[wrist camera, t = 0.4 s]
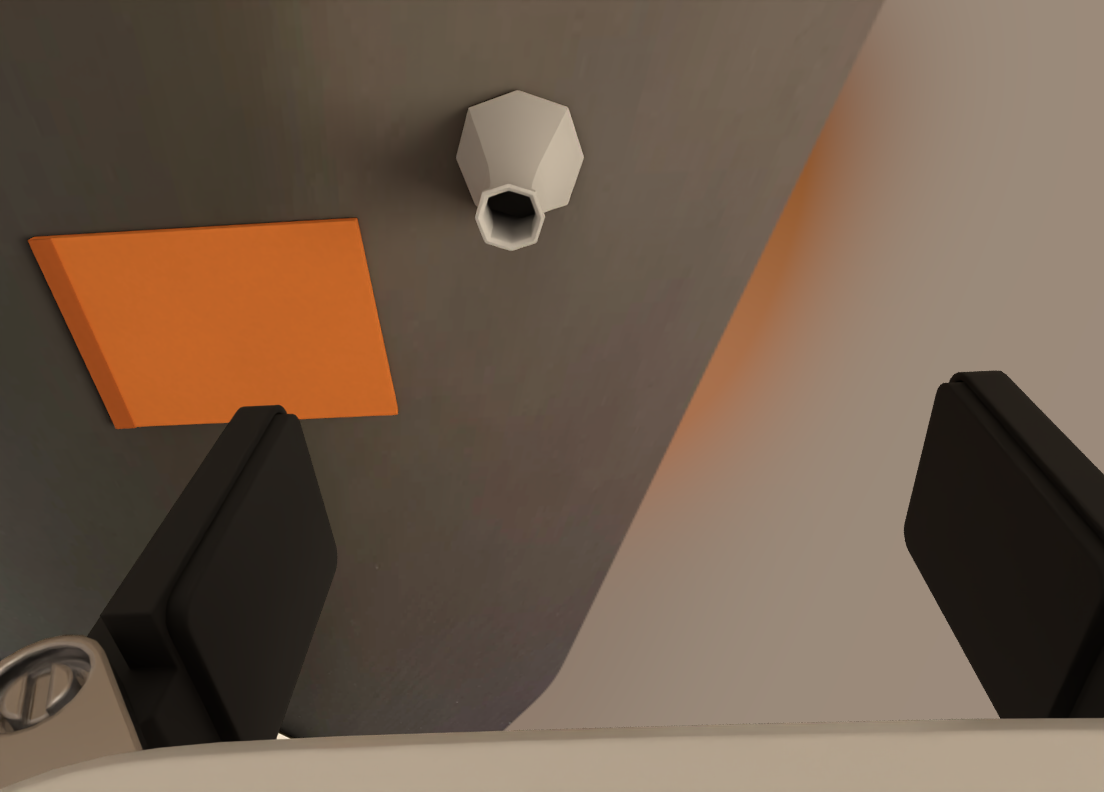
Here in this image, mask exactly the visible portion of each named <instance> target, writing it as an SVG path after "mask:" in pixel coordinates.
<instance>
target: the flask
mask: <svg viewBox="0 0 1104 792" xmlns="http://www.w3.org/2000/svg"><path fill="white" fill-rule="evenodd" d="M456 159H457V162H458V164H459V167H460V169H461V172H462V174H463V177H464V179H465V181H466V184H467V186H468V189H469V191H470V194H471V196H472V199H473V201H474V204H475V205H476V206H478V208H477V212H476V215H475V219H476V222H477V224H478V227H479V229H480V232H481V234H482V236H483V239H484V241H485V243H487V244H490V245H493V246H497V247H500V248H503V249H506V250H510V251H512V250H516V249H519V248H522V247H525V246H528V245H531V244H534V243H537V240H538V237H539V234H540V230H541V227H542V224H543V221H544V218H545V215H544V212H547V211H550V210H553V209H556V208H559V207H562V206H565V205H567V204H568V202H569V199H570V196H571V193H572V191H573V188H574V185H575V182H576V179H577V176H578V173H579V170H580V167H581V164H582V162H583V159H584V156H583V153H582V150H581V147H580V143H579V140H578V137H577V134H576V131H575V128H574V124H573V121H572V118H571V115H570V112H569V109H568V107H566V106H563V105H560V104H557V103H554V102H551V101H549V100H546V99H543V98H540V97H537V96H534V95H531V94H528V93H525V92H522V91H519V90H516V91H513V92H511V93H508V94H505V95H502V96H500V97H497V98H494V99H491V100H489V101H486V102H483V103H480V104H478V105H475V106H472V107H469V108H468V112H467V116H466V120H465V124H464V128H463V132H462V136H461V140H460V144H459V148H458V152H457V156H456Z"/></svg>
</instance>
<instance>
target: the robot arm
mask: <svg viewBox="0 0 1104 792" xmlns="http://www.w3.org/2000/svg"><path fill="white" fill-rule="evenodd" d="M904 537H905V542H906V546H907V548H908V551H909V552H910V554H911V556H912V558H913V560H914V561H915V563H916V565H917V567H918V569H919V571H920V573H921V574H922V576H923V578H924V580H925V582H926V584H927V585H928V587H929V589H930V591H931V593H932V594H933V596H934V598H935V600H936V602H937V604H938V605H939V607H940V609H941V611H942V613H943V614H944V616H945V618H946V620H947V622H948V624H949V625H950V627H951V629H952V631H953V633H954V635H955V637H956V638H957V640H958V642H959V644H960V645H961V647H962V649H963V651H964V653H965V655H966V657H967V658H968V660H969V662H970V664H971V665H972V668H973V669H974V671H975V673H976V675H977V677H978V679H979V680H980V682H981V684H982V686H983V688H984V689H985V691H986V693H987V695H988V697H989V699H990V700H991V702H992V704H993V706H994V708H995V710H996V711H997V713H998V715H999V717H1000V719H952V720H951V719H948V720H903V721H863V722H862V721H860V722H859V721H856V722H812V723H770V724H769V723H767V724H729V725H692V726H655V727H654V726H653V727H621V728H620V727H619V728H582V729H549V730H514V731H484V732H453V733H423V734H392V735H362V736H335V737H315V738H295V739H277V736H278V733H279V730H280V727H281V725H282V722H283V719H284V716H285V713H286V710H287V708H288V705H289V702H290V699H291V696H292V693H293V690H294V688H295V685H296V682H297V679H298V676H299V673H300V671H301V668H302V665H303V662H304V659H305V656H306V654H307V651H308V648H309V645H310V642H311V639H312V636H313V634H314V631H315V628H316V625H317V622H318V619H319V617H320V614H321V611H322V608H323V605H324V602H325V599H326V597H327V594H328V591H329V588H330V585H331V582H332V580H333V577H334V574H335V571H336V566H337V548H336V544H335V541H334V537H333V534H332V530H331V527H330V523H329V520H328V517H327V513H326V510H325V506H324V503H323V499H322V496H321V493H320V489H319V486H318V482H317V479H316V476H315V472H314V469H313V465H312V462H311V458H310V455H309V452H308V448H307V445H306V441H305V438H304V434H303V431H302V428H301V424H300V421H299V419H298V417H297V416H296V415H295V414H287V412H286V410H285V409H284V407H283V406H281V405H264V406H244V407H240V408H239V409H238V410H237V411H236V413H235V414H234V416H233V417H232V419H231V420H230V422H229V423H228V425H227V426H226V428H225V429H224V431H223V432H222V434H221V435H220V437H219V438H218V440H217V441H216V443H215V444H214V446H213V447H212V449H211V450H210V452H209V453H208V455H207V456H206V458H205V459H204V461H203V462H202V464H201V465H200V467H199V468H198V470H197V471H196V473H195V474H194V476H193V477H192V479H191V480H190V482H189V483H188V485H187V486H186V488H185V489H184V491H183V492H182V494H181V495H180V497H179V498H178V500H177V501H176V503H175V504H174V506H173V507H172V509H171V510H170V512H169V513H168V515H167V516H166V518H165V519H164V521H163V522H162V524H161V525H160V527H159V528H158V530H157V531H156V533H155V534H154V536H153V537H152V539H151V540H150V542H149V543H148V545H147V546H146V548H145V549H144V550H143V552H142V553H141V555H140V556H139V558H138V559H137V561H136V562H135V564H134V565H133V567H132V568H131V570H130V571H129V573H128V574H127V576H126V577H125V579H124V580H123V582H122V583H121V585H120V586H119V588H118V589H117V591H116V592H115V594H114V595H113V597H112V598H111V600H110V601H109V603H108V604H107V606H106V607H105V609H104V610H103V612H102V613H101V615H100V618H99V619H98V621H97V622H96V624H95V625H94V627H93V628H92V630H91V631H90V633H89V634H88V636H87V637H86V636H84V635H62V636H57V637H52V638H47V639H44V640H41V641H39V642H36V643H34V644H31V645H28V646H26V647H24V648H22V649H20V650H18V651H17V652H15V653H13V654H12V655H10V656H8V657H6V658H5V659H3V660H2V661H0V792H1104V474H1103V473H1102V472H1101V471H1100V470H1099V469H1098V468H1097V467H1096V466H1095V465H1094V464H1093V463H1092V462H1091V461H1090V460H1089V459H1088V458H1087V457H1086V456H1085V455H1084V454H1083V453H1082V452H1081V451H1080V450H1079V449H1078V448H1077V447H1076V446H1075V445H1074V444H1073V443H1072V442H1071V441H1070V439H1068V438H1067V436H1066V435H1065V434H1064V433H1063V432H1062V431H1061V430H1060V429H1059V428H1058V427H1057V426H1056V425H1055V424H1054V423H1053V422H1052V421H1051V420H1050V419H1049V418H1048V417H1047V416H1046V415H1045V414H1044V413H1043V412H1042V411H1041V410H1040V409H1039V408H1038V407H1037V406H1036V405H1035V404H1034V403H1033V402H1032V401H1031V400H1030V399H1029V397H1028V396H1026V394H1025V393H1024V392H1023V391H1022V390H1021V389H1020V388H1019V387H1018V386H1017V385H1016V384H1015V383H1014V382H1013V381H1012V380H1011V379H1010V378H1009V377H1008V376H1007V375H1006V374H1004V373H1003V372H1002V371H977V372H958V373H956V374H954V375H953V376H952V378H951V379H950V382H949V383H943V384H941V385H940V386H939V388H938V390H937V393H936V396H935V401H934V405H933V409H932V413H931V417H930V421H929V425H928V429H927V434H926V438H925V442H924V446H923V450H922V454H921V458H920V462H919V467H918V470H917V475H916V479H915V483H914V487H913V491H912V495H911V499H910V503H909V508H908V512H907V516H906V520H905V525H904Z"/></svg>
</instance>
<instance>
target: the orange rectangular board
mask: <svg viewBox="0 0 1104 792" xmlns="http://www.w3.org/2000/svg"><path fill="white" fill-rule="evenodd" d="M28 242H29V244H30V247H31V249H32V251H33V253H34V255H35V257H36V259H37V262H38V264H39V266H40V268H41V270H42V272H43V274H44V276H45V279H46V281H47V283H48V285H49V287H50V289H51V291H52V293H53V296H54V298H55V300H56V302H57V304H58V306H59V308H60V311H61V313H62V315H63V317H64V319H65V321H66V323H67V325H68V328H69V330H70V332H71V334H72V336H73V338H74V340H75V343H76V345H77V347H78V349H79V351H80V353H81V355H82V357H83V360H84V362H85V364H86V366H87V368H88V370H89V372H90V374H91V377H92V379H93V381H94V383H95V385H96V387H97V389H98V392H99V394H100V396H101V398H102V400H103V402H104V404H105V406H106V409H107V411H108V413H109V415H110V417H111V419H112V421H113V423H114V426H115V428H116V429H123V428H136V427H142V426H164V425H185V424H207V423H228V422H230V420H231V419H232V417H233V416H234V414H235V413H236V411H237V410H238V409H239V408H240V407H244V406H264V405H281V406H283V407H284V409H285V410H286V412H287V414H295V415H296V416H297V417H298V419H314V418H335V417H357V416H378V415H397V413H398V407H397V402H396V397H395V392H394V388H393V383H392V378H391V374H390V369H389V364H388V360H387V355H386V350H385V346H384V341H383V336H382V332H381V327H380V322H379V318H378V313H377V308H376V303H375V299H374V294H373V289H372V285H371V280H370V275H369V271H368V266H367V261H366V257H365V252H364V247H363V243H362V238H361V233H360V229H359V224H358V219H357V218H345V219H328V220H311V221H294V222H277V223H260V224H243V225H226V226H209V227H192V228H175V229H158V230H141V231H124V232H107V233H90V234H73V235H56V236H39V237H32V238H31V239H29V240H28Z"/></svg>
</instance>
